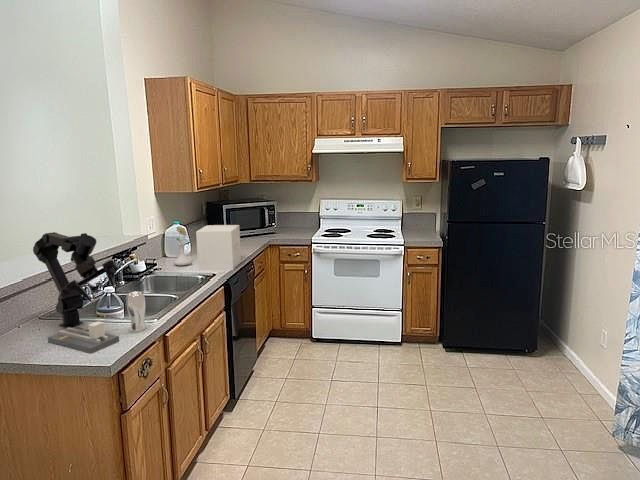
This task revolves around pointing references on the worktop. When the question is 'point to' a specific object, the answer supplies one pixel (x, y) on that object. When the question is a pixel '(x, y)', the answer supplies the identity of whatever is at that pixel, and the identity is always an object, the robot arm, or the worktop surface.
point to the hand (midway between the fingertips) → (102, 294)
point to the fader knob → (96, 330)
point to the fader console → (82, 340)
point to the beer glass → (136, 310)
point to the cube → (218, 247)
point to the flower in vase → (182, 250)
